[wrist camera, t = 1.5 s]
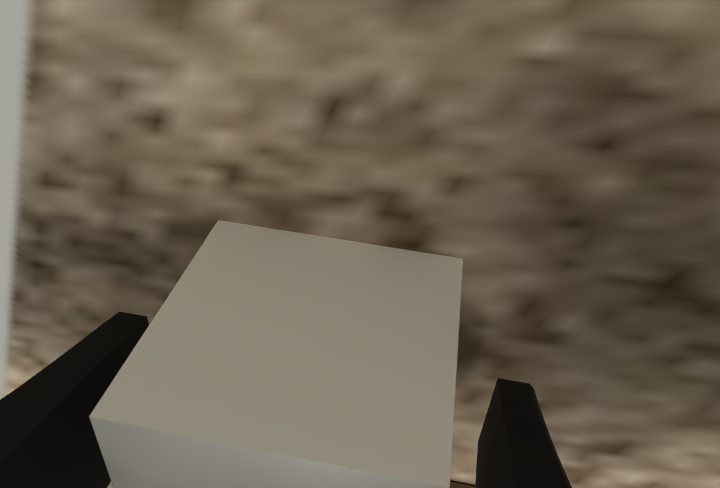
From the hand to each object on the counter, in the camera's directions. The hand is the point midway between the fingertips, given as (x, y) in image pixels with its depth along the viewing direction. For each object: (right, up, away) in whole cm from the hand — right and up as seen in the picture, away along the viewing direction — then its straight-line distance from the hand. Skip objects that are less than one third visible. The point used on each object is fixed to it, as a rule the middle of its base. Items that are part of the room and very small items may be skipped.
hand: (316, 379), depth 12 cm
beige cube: (0, +1, +1) cm, 2 cm away
